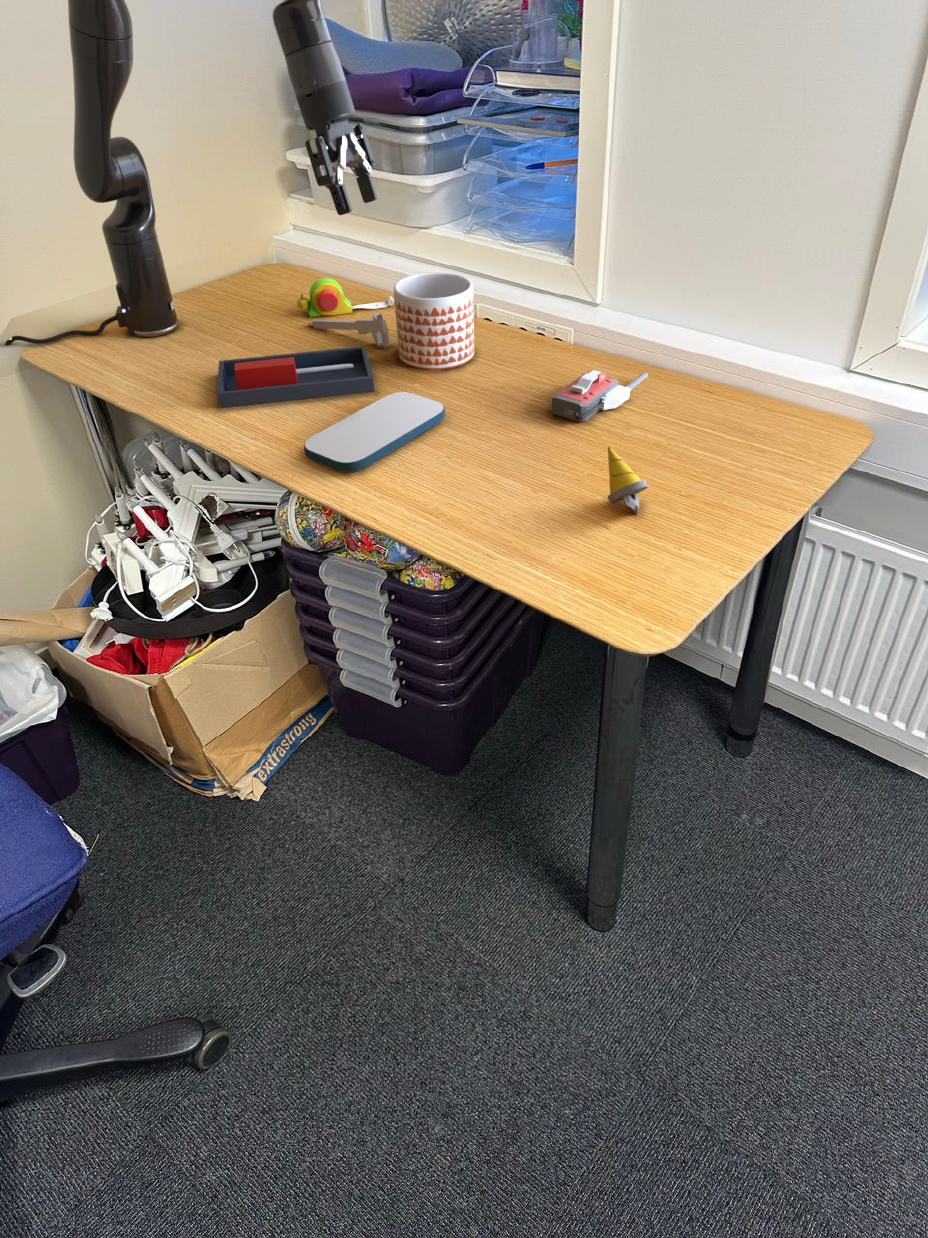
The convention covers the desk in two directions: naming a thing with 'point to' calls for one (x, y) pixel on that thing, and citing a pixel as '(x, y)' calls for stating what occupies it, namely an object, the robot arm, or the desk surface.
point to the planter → (434, 320)
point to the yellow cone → (623, 482)
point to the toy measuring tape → (332, 300)
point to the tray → (301, 378)
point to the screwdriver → (274, 372)
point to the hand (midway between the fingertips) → (358, 207)
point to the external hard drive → (374, 431)
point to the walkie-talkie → (591, 395)
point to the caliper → (359, 327)
